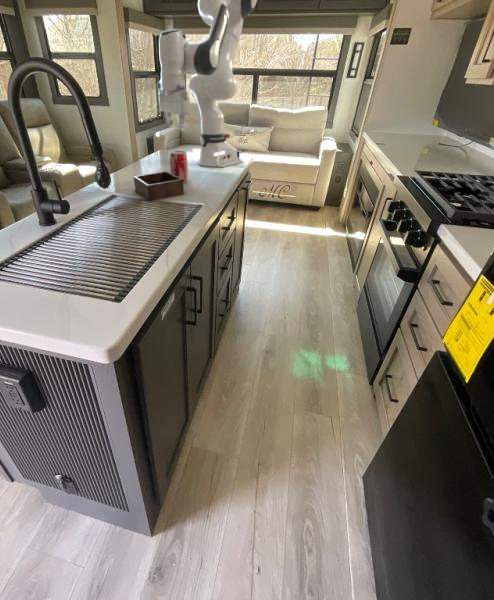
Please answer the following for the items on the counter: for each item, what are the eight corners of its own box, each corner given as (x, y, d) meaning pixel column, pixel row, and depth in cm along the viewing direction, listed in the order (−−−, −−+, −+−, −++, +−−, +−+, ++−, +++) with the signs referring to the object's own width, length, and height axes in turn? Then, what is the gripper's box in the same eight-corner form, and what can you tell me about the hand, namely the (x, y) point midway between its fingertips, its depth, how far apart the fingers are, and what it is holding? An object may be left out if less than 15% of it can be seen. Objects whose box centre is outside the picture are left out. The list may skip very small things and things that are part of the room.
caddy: (168, 184, 139) (166, 171, 136) (183, 193, 129) (182, 179, 126) (135, 190, 133) (133, 176, 130) (149, 200, 123) (147, 185, 120)
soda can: (168, 181, 143) (166, 152, 136) (181, 178, 147) (179, 149, 140) (178, 185, 139) (176, 154, 132) (191, 181, 142) (189, 152, 135)
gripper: (194, 85, 116) (195, 129, 124) (169, 83, 131) (171, 123, 139) (178, 86, 114) (180, 130, 122) (154, 84, 128) (158, 124, 136)
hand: (175, 126), depth 130 cm, fingers open, 8 cm apart
